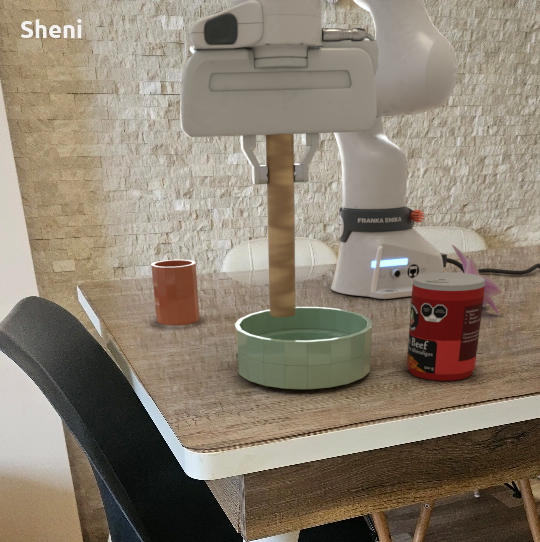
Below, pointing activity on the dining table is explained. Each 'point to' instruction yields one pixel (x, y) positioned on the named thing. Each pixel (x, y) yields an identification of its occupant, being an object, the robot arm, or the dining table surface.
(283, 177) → the stick
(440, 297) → the canned food
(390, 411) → the dining table surface
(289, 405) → the dining table surface
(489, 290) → the lily
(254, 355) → the bowl
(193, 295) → the holder
